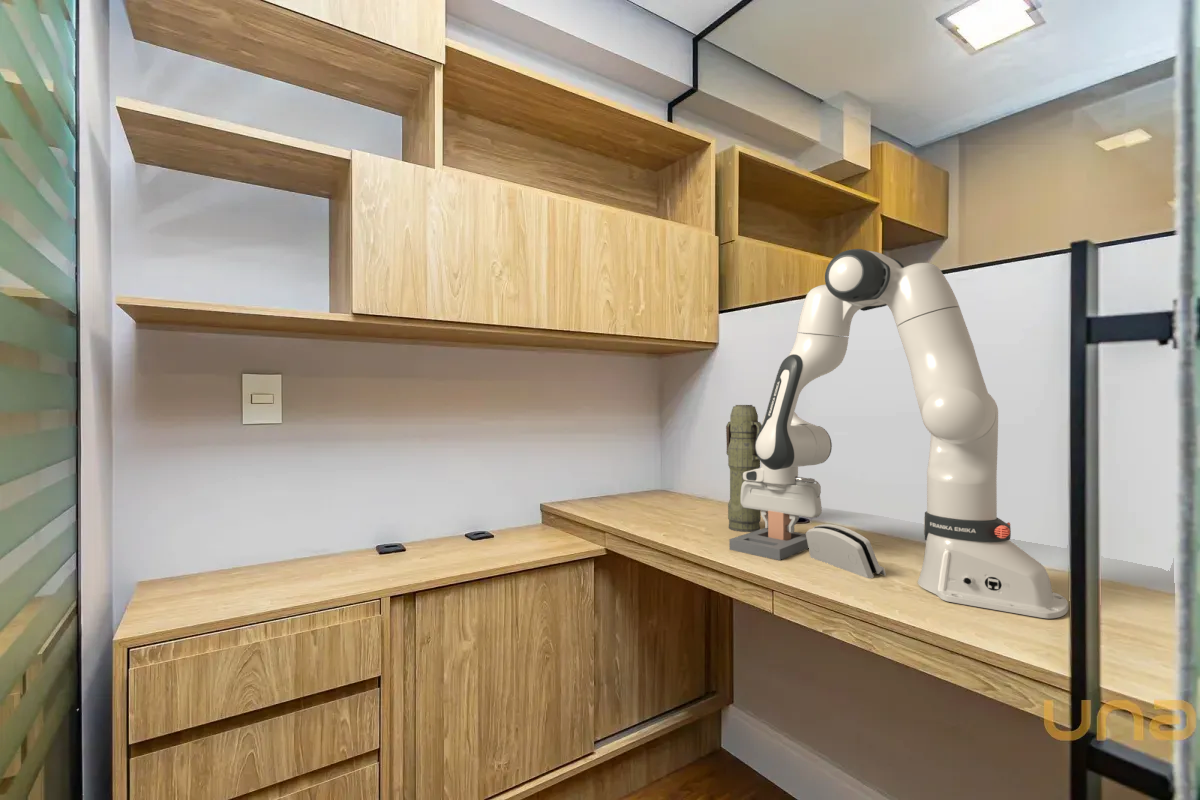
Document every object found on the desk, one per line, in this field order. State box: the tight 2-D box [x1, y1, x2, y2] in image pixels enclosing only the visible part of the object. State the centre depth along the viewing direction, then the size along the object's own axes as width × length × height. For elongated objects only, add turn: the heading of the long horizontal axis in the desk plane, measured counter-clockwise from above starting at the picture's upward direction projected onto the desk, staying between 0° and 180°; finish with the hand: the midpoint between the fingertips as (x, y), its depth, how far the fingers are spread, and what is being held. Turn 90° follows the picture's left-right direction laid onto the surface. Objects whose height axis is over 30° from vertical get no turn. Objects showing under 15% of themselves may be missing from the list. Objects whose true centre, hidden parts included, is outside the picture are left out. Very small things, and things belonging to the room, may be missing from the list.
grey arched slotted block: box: [805, 523, 887, 579], centre depth 118 cm, size 17×5×10 cm, turn 22°
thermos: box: [725, 404, 762, 533], centre depth 155 cm, size 9×12×35 cm
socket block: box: [729, 527, 809, 561], centre depth 134 cm, size 13×18×2 cm
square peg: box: [768, 511, 792, 541], centre depth 136 cm, size 4×4×8 cm
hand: (779, 530), depth 136 cm, fingers closed on square peg, 4 cm apart
